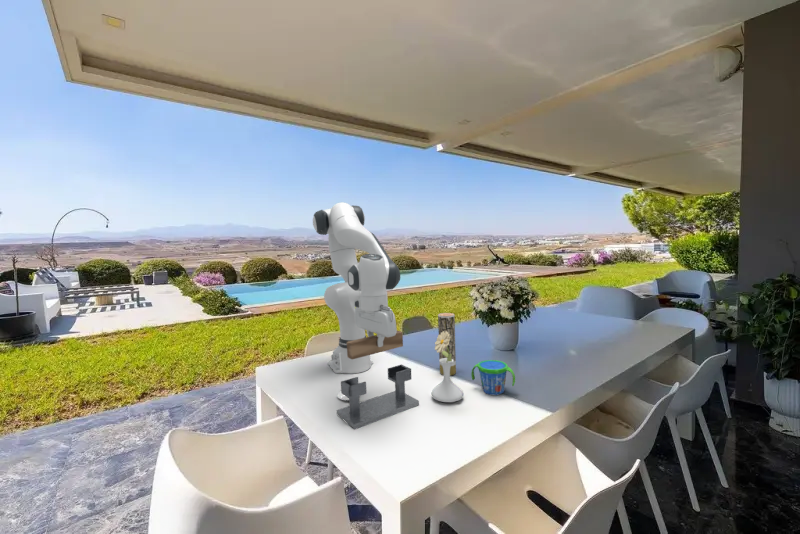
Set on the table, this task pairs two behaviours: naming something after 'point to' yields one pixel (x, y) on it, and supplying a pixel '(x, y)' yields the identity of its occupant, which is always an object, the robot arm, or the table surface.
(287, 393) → the table surface
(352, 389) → the bracket stand
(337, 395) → the pale veined leaf
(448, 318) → the grey wooden cylinder
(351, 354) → the walnut rail
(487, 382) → the snack cup
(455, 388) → the flower in vase
